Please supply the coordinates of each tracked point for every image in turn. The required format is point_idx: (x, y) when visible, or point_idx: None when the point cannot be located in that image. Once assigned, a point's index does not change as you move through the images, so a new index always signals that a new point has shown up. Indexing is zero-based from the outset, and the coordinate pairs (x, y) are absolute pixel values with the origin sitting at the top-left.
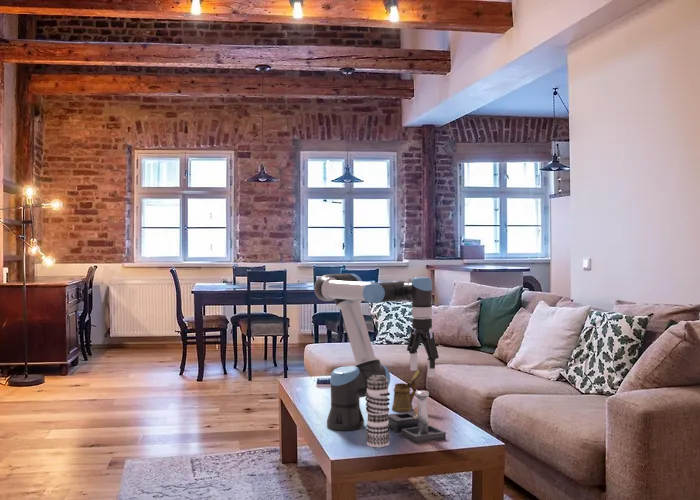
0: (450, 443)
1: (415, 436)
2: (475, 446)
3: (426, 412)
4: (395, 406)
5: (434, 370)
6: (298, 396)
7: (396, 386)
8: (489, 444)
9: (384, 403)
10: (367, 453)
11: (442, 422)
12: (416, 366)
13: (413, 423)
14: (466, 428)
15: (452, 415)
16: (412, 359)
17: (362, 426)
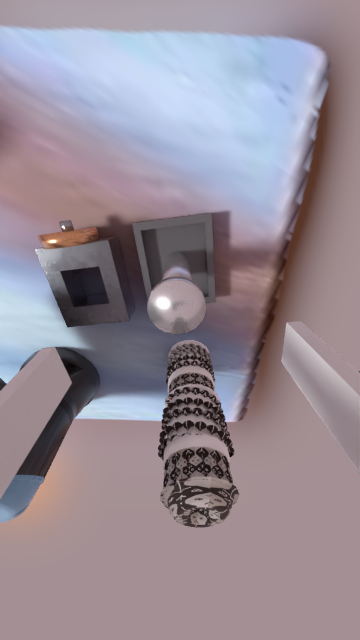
0: (246, 217)
1: (214, 300)
2: (300, 157)
3: (190, 274)
4: None
5: (327, 349)
6: None
7: None
8: (308, 95)
9: (223, 421)
10: (231, 382)
11: (43, 138)
12: (42, 369)
13: (120, 271)
14: (125, 78)
15: None
16: (20, 446)
17: (79, 356)
